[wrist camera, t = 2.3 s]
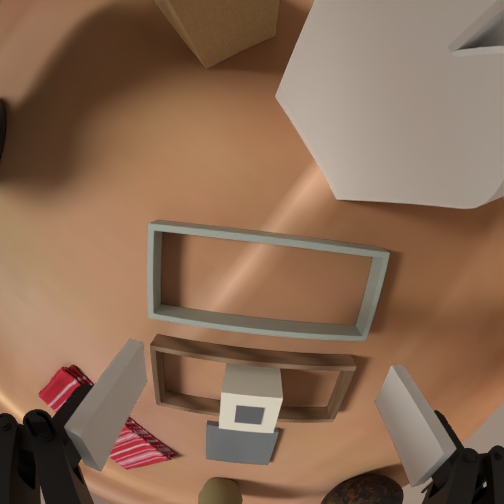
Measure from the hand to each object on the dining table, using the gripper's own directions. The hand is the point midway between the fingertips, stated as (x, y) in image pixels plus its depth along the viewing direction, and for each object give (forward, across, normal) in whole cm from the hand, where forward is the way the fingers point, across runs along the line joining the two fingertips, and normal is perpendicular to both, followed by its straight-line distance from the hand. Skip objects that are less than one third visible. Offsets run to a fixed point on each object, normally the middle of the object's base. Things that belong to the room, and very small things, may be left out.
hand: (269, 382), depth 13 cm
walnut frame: (+15, 0, -13) cm, 20 cm away
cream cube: (+15, 0, -13) cm, 20 cm away
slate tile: (+15, 0, -27) cm, 31 cm away
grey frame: (+15, 0, 0) cm, 15 cm away
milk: (+15, +7, +17) cm, 24 cm away
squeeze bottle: (+15, -2, -43) cm, 45 cm away
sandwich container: (+15, -10, +29) cm, 34 cm away
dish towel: (+16, -24, -31) cm, 42 cm away
